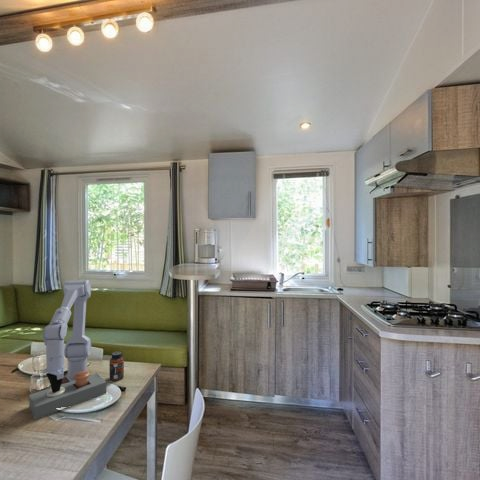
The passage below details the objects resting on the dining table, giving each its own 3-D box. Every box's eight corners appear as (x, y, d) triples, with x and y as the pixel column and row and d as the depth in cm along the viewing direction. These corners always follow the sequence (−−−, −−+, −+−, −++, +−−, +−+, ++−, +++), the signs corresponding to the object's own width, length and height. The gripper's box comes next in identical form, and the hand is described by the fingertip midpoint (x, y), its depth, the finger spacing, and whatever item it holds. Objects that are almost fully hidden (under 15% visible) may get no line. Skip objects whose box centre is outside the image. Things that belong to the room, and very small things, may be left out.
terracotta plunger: (71, 385, 116) (71, 374, 116) (87, 379, 120) (87, 369, 120) (75, 390, 112) (75, 379, 112) (92, 385, 116) (92, 374, 116)
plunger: (45, 402, 110) (44, 391, 110) (62, 396, 114) (62, 385, 114) (48, 409, 106) (48, 397, 106) (67, 402, 110) (67, 391, 110)
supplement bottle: (118, 382, 126) (118, 356, 126) (106, 380, 128) (106, 355, 127) (126, 375, 132) (126, 351, 132) (115, 374, 133) (114, 350, 133)
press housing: (35, 419, 101) (35, 407, 101) (29, 406, 108) (29, 394, 108) (106, 393, 118) (106, 382, 118) (96, 383, 125) (96, 373, 125)
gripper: (38, 353, 112) (39, 388, 112) (47, 365, 102) (48, 403, 102) (59, 348, 117) (60, 381, 117) (69, 358, 107) (70, 395, 107)
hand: (55, 391), depth 110 cm, fingers closed, pressing on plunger
